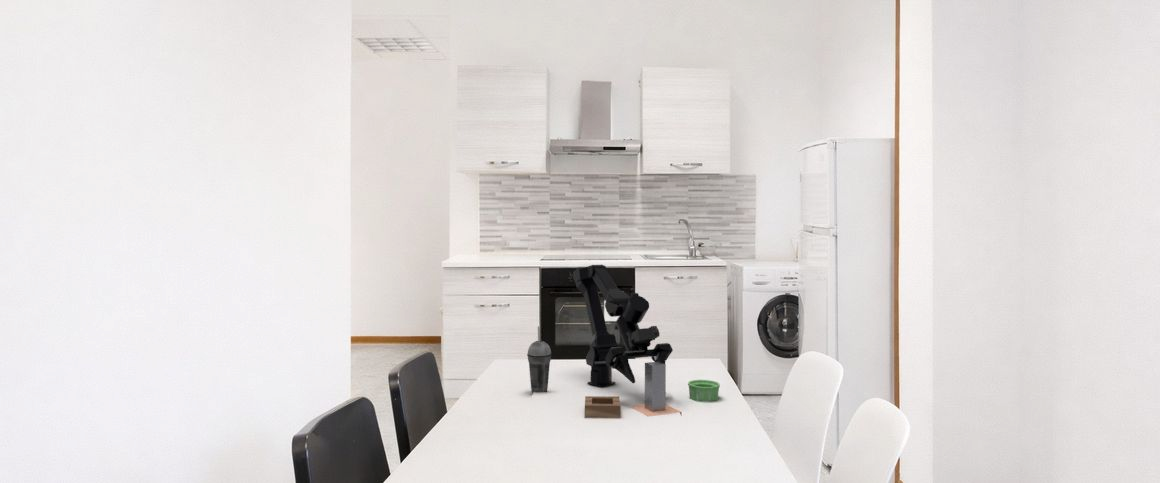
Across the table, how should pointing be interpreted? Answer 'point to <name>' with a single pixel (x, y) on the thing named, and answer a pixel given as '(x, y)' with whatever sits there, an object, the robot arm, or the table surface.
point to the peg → (655, 386)
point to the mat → (648, 413)
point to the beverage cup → (539, 364)
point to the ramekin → (703, 390)
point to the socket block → (602, 407)
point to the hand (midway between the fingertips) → (649, 381)
